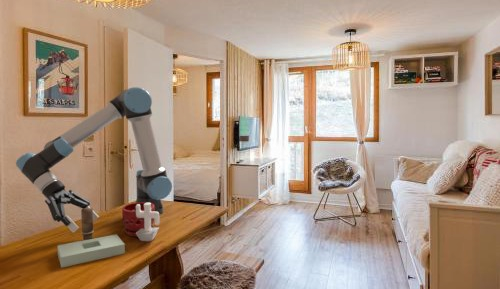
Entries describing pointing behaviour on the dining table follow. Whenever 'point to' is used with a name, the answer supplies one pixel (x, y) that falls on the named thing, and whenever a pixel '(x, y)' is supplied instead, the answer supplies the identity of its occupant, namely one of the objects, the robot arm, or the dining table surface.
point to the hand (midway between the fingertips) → (87, 224)
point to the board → (90, 250)
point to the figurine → (147, 222)
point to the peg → (87, 223)
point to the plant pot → (134, 218)
